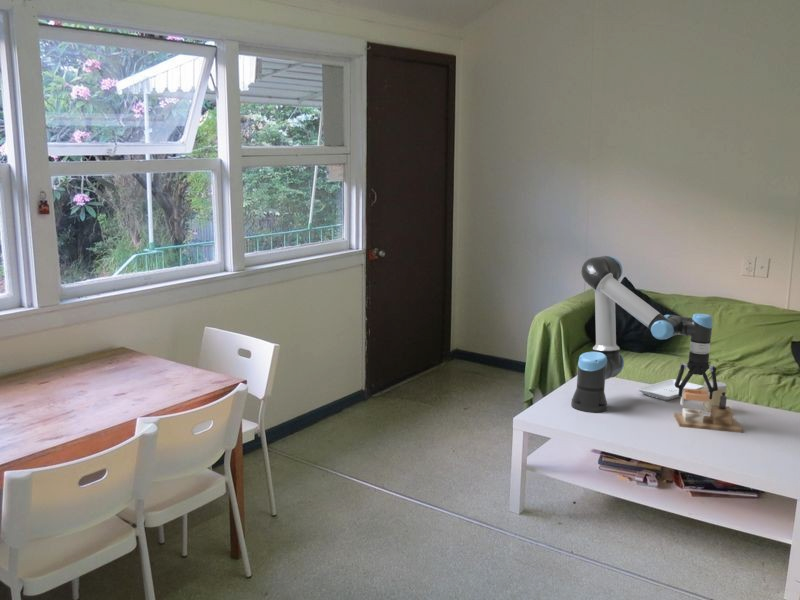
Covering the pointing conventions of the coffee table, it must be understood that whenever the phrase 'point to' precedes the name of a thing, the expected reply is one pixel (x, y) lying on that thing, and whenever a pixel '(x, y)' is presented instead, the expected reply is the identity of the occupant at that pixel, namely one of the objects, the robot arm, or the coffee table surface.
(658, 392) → the tray
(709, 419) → the stand
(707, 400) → the square frame
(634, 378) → the coffee table surface
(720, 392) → the coffee cup
